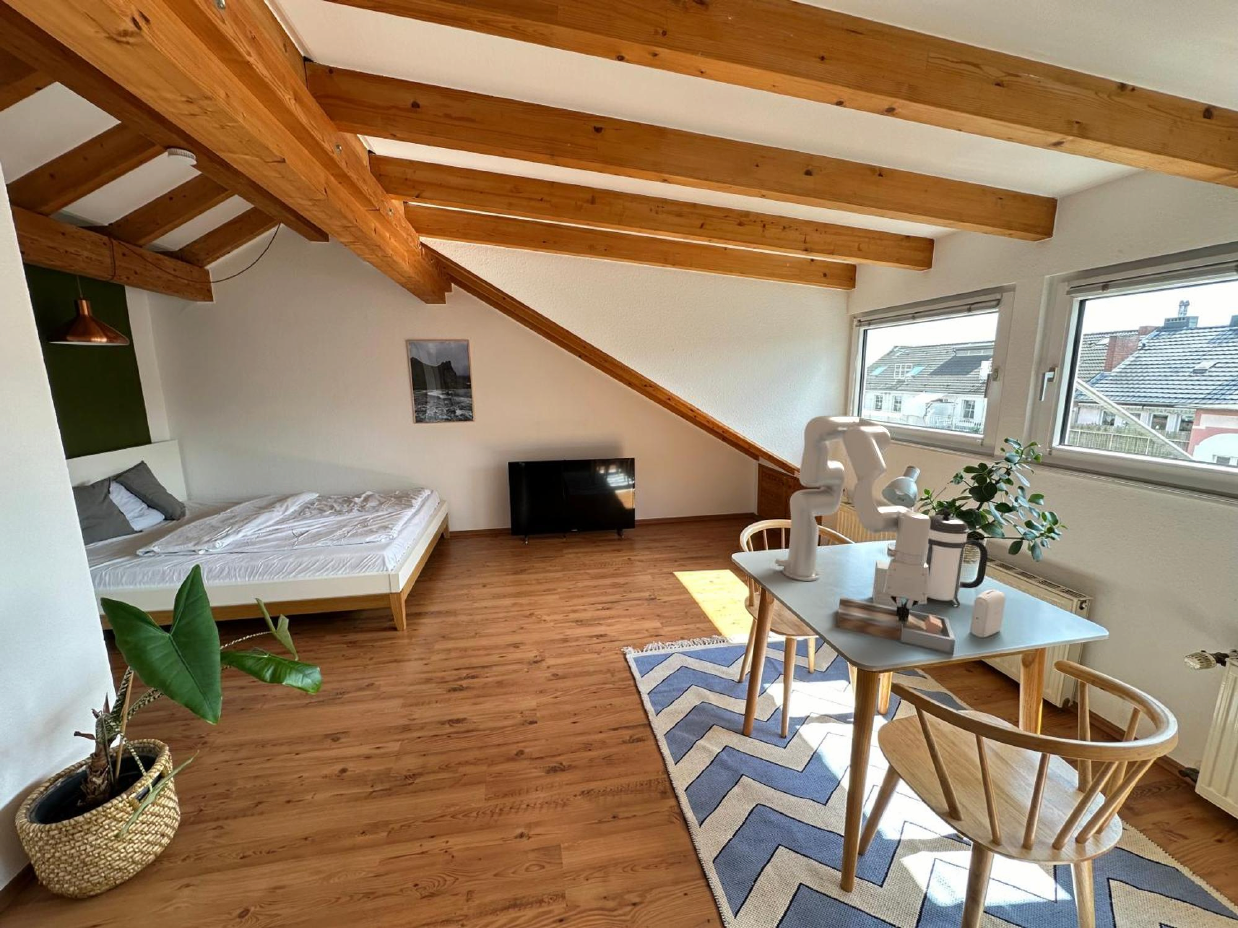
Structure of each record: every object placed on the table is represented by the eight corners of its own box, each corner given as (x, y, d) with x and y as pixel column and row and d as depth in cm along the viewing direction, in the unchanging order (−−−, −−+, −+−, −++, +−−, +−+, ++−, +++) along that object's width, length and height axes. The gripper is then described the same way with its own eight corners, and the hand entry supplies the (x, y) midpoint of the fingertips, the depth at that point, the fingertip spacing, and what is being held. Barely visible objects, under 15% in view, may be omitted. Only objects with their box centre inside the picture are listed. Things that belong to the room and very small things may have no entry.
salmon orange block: (930, 621, 132) (942, 627, 131) (929, 614, 136) (940, 620, 135) (922, 634, 133) (933, 640, 132) (920, 627, 137) (932, 633, 136)
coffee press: (945, 612, 150) (958, 519, 145) (898, 591, 165) (909, 506, 160) (981, 604, 156) (995, 514, 151) (933, 584, 171) (945, 502, 166)
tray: (900, 642, 132) (902, 628, 131) (897, 620, 144) (899, 608, 144) (953, 654, 127) (955, 640, 126) (945, 630, 139) (947, 617, 138)
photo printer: (983, 639, 135) (990, 597, 133) (967, 632, 138) (973, 591, 136) (1002, 631, 139) (1009, 590, 137) (986, 624, 143) (992, 585, 141)
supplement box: (897, 600, 158) (901, 563, 156) (899, 609, 151) (904, 571, 149) (871, 595, 161) (875, 559, 159) (872, 605, 154) (877, 567, 152)
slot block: (836, 626, 140) (838, 612, 139) (838, 609, 151) (840, 596, 150) (900, 640, 133) (902, 625, 132) (897, 622, 143) (899, 607, 143)
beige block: (903, 628, 135) (908, 620, 134) (902, 622, 139) (907, 613, 138) (920, 637, 134) (925, 629, 133) (918, 630, 138) (924, 622, 137)
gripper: (879, 556, 134) (872, 618, 137) (943, 566, 128) (934, 631, 131) (878, 548, 141) (872, 607, 144) (940, 557, 134) (931, 619, 137)
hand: (901, 618), depth 137 cm, fingers closed
